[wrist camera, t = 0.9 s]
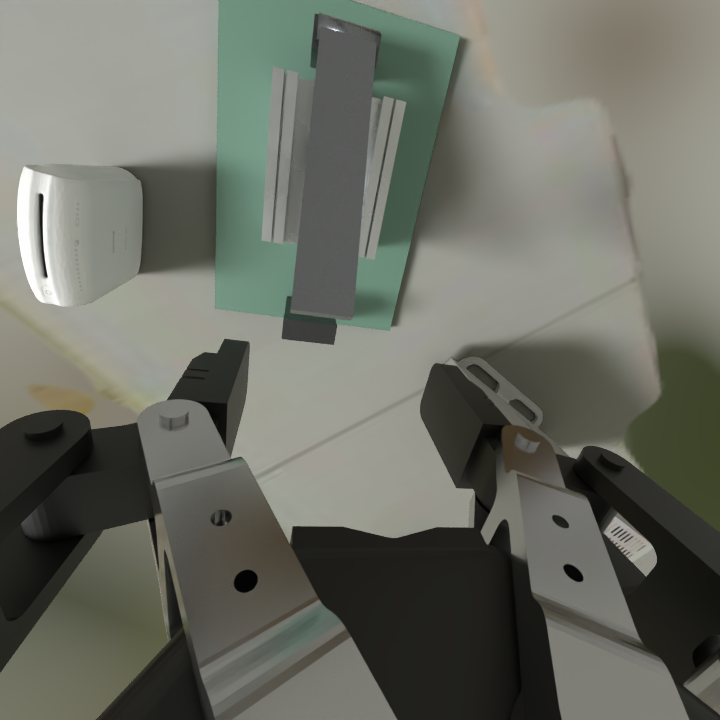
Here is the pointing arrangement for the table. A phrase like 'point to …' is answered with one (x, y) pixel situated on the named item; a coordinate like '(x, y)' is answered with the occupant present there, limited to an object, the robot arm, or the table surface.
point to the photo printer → (79, 230)
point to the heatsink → (289, 173)
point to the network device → (619, 528)
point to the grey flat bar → (335, 170)
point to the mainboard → (250, 141)
